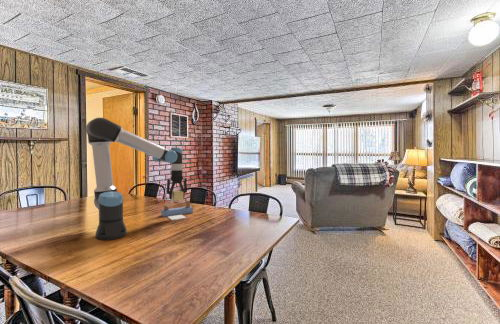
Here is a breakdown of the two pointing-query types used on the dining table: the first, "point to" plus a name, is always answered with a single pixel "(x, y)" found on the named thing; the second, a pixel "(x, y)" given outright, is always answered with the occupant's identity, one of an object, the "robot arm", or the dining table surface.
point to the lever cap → (177, 195)
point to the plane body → (177, 210)
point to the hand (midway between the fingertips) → (177, 202)
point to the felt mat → (176, 217)
